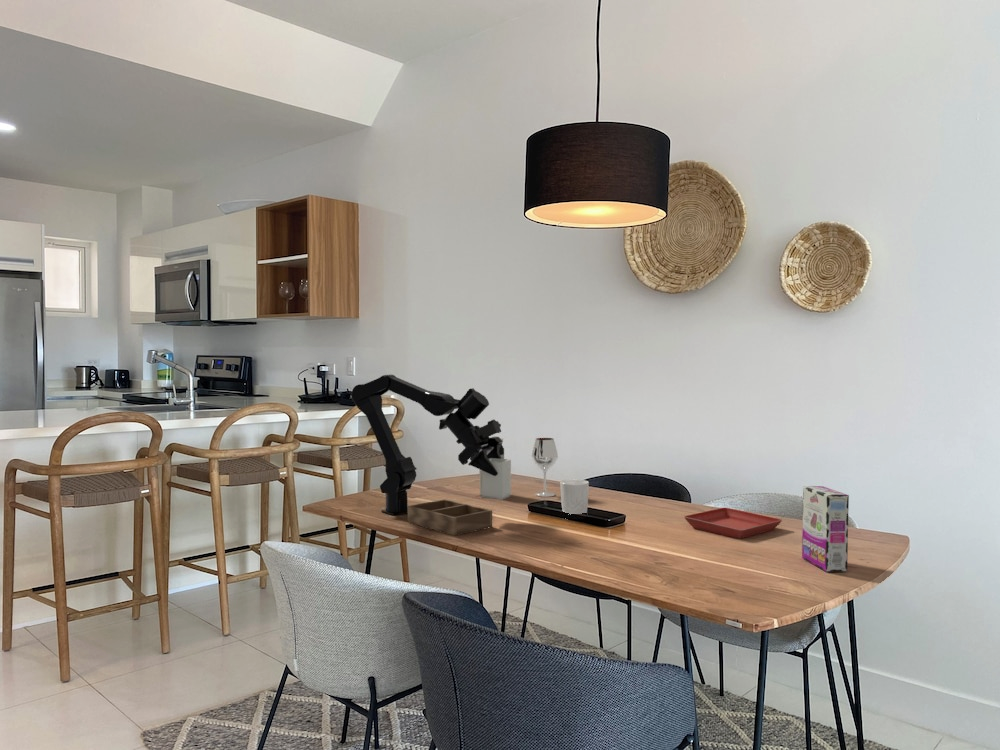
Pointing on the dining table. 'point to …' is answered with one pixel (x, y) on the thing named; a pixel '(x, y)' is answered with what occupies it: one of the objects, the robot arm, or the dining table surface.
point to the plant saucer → (732, 522)
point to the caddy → (497, 480)
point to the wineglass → (544, 459)
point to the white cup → (574, 496)
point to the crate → (450, 516)
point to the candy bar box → (825, 528)
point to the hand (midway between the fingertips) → (501, 473)
